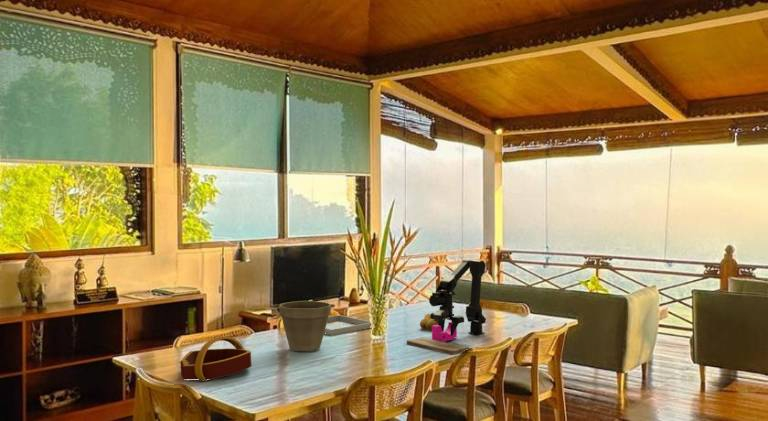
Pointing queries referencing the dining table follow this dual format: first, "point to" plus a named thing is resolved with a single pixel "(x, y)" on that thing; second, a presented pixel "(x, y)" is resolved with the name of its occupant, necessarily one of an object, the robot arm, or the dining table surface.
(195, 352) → the decorative basket
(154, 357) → the dining table surface
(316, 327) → the plant pot
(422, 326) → the bread roll
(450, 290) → the robot arm
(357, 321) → the slate tray rim
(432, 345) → the walnut board
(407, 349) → the dining table surface
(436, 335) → the toy block
